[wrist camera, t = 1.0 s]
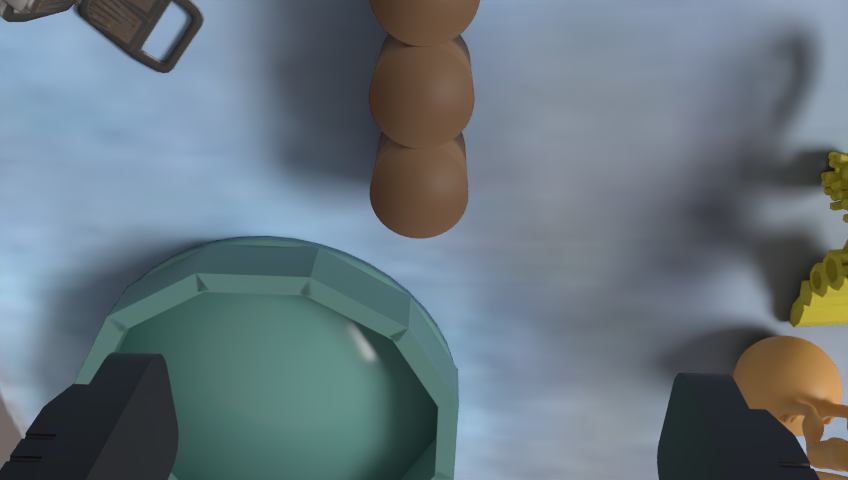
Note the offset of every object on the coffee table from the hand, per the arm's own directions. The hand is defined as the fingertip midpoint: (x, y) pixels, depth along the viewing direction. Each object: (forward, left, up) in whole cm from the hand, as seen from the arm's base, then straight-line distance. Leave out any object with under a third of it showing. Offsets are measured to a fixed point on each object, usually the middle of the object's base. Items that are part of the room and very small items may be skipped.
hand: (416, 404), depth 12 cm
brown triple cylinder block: (-1, 0, -17) cm, 17 cm away
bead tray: (+14, -6, -17) cm, 23 cm away
